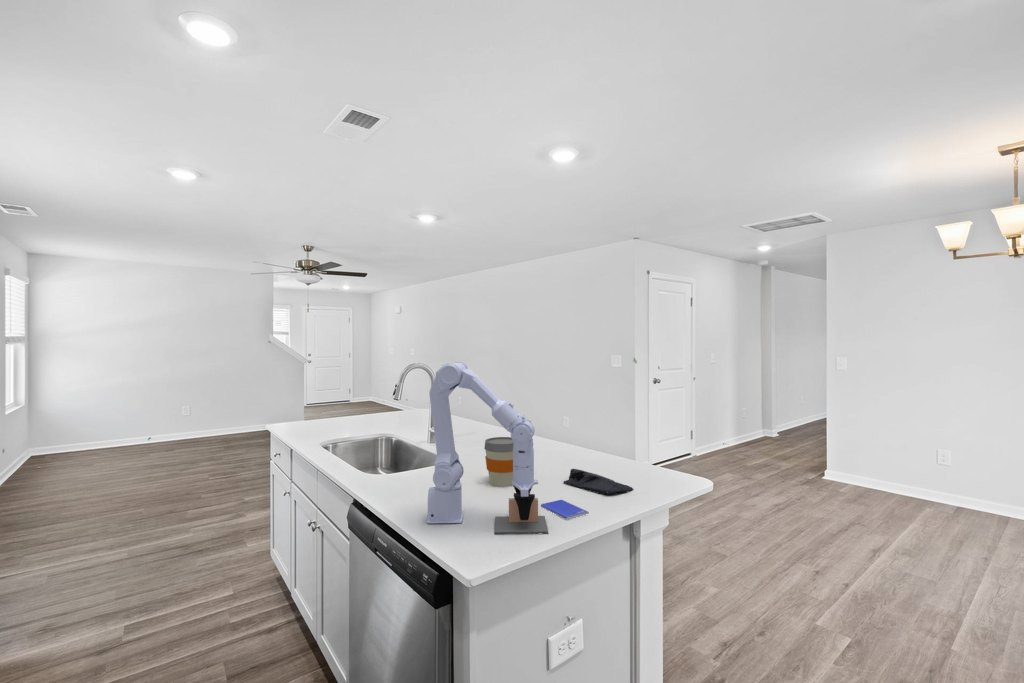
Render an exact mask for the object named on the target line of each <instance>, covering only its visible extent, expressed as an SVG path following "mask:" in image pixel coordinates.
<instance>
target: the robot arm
mask: <svg viewBox="0 0 1024 683" xmlns="http://www.w3.org/2000/svg"><path fill="white" fill-rule="evenodd" d="M457 387H458V388H461V389H466V390H471V391H472V393H474V394H475V395H476V396H477V397H478V398H479V399H480V400H481V401H483V403H485V404H486V405H487V406H488V407H489V408H490V409H491V416H492V417H493V419H495V420H496V421H497V422H498V423H499V424H500V425H501V426H502V428H504V429H505V430H506V431H507V432H509V433H510V437H511V438H512V440H513V481H512V484H513V485H512V486H513V488H514V491H515V492H513V498H515V500H516V502H517V505H518V510H519V516H520V520H528V519H529V515H530V509H531V505H532V502H533V500H534V498H536V494H535V493H531V491H532V489H533V487H534V486H535V485H539V480H538V479H535V466H534V465H535V462H534V461H535V460H534V459H535V457H534V456H535V455H534V454H535V451H534V450H535V449H534V439H533V437H534V435H535V426H534V424H533V423H532V421H531V420H529V419H526V418H527V417H526V416H525V415H521V414H520V413H519V411H517V409H516V408H515V407H514V403H513V402H510V401H507V400H501V399H499V398H498V396H497V395H496V394H495V393H494V392H493V391H492V390H491V389H490V388H489V387H488V385H486V384H485V383H484V381H482V379H481V378H480V377H479V376H478V375H477V374H476V373H475V371H474V370H473V369H471V368H469V367H468V365H467V364H465V363H464V362H462V361H455V362H452V363H449V362H448V363H445V364H443V365H442V366H441V367H440V368H439V369H438V370H437V371H436V372H435V378H434V380H433V383H432V384H431V387H430V390H429V401H430V409H431V417H432V424H433V433H434V441H435V450H436V457H435V461H434V472H433V475H432V481H433V484H434V486H430V487H428V492H427V522H426V523H427V524H462V523H463V520H464V515H465V511H463V509H462V508H463V507H462V505H463V503H462V502H463V501H462V498H463V496H462V494H463V493H462V491H463V490H462V487H463V486H462V483H461V480H460V479H461V478H462V477H463V475H464V472H465V470H464V466H463V464H462V463H461V461H460V456H459V454H458V453H457V451H456V446H455V439H454V430H453V421H452V414H451V408H450V407H451V406H450V399H449V396H450V395H451V394H452V393H453V392H454V390H455V389H456V388H457Z"/></svg>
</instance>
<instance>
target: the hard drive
mask: <svg viewBox="0 0 1024 683" xmlns="http://www.w3.org/2000/svg"><path fill="white" fill-rule="evenodd" d="M540 507H542V508H541V509H543V508H544V509H543V510H545V509H546V510H545V511H547V512H549V511H550V512H549V513H551V512H552V513H551V514H553V513H554V514H553V515H555V514H556V515H555V516H557V515H558V516H557V517H559V518H561V519H563V520H565V521H570V520H574V519H577V518H576V517H578V518H581V517H580V516H582V517H584V516H583V515H585V516H587V515H586V514H589V515H590V513H589V511H588V510H585V509H583V508H581V507H578V506H577V505H574V504H572V503H570V502H568V501H565V499H558V500H555V501H554V500H553V501H548V502H545V503H541V505H540ZM573 518H574V519H573ZM569 519H570V520H569Z"/></svg>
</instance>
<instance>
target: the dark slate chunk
mask: <svg viewBox="0 0 1024 683" xmlns="http://www.w3.org/2000/svg"><path fill="white" fill-rule="evenodd" d="M563 484H565V485H569V484H570V486H572V487H574V486H575V488H578V489H581V488H584V489H583V490H586V489H588V490H587V491H589V490H591V491H590V492H593V491H595V492H594V493H597V492H598V493H597V494H600V493H604V494H603V495H606V494H608V495H612V494H613V493H614V494H619V493H618V492H621V493H627V492H626V491H629V492H632V491H633V490H634V488H633V487H632V486H630V485H627V484H623V483H620V482H618V481H615V480H613V479H610V478H607V477H605V476H603V475H599V474H597V473H593V472H588V471H586V470H584V469H583V470H582V469H578V468H571V469H570V471H569V476H568V479H567V480H563ZM632 489H633V490H632ZM631 490H632V491H631ZM614 494H613V495H614Z"/></svg>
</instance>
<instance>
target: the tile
mask: <svg viewBox="0 0 1024 683" xmlns="http://www.w3.org/2000/svg"><path fill="white" fill-rule="evenodd" d="M508 516H509V522H538V516H539V498H538V497H535V498H534V500H533V502H532V505H531V509H530V515H529V519H528V520H520V516H519V510H518V505H517V502H516V500H515V498H514V497H509V498H508Z"/></svg>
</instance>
